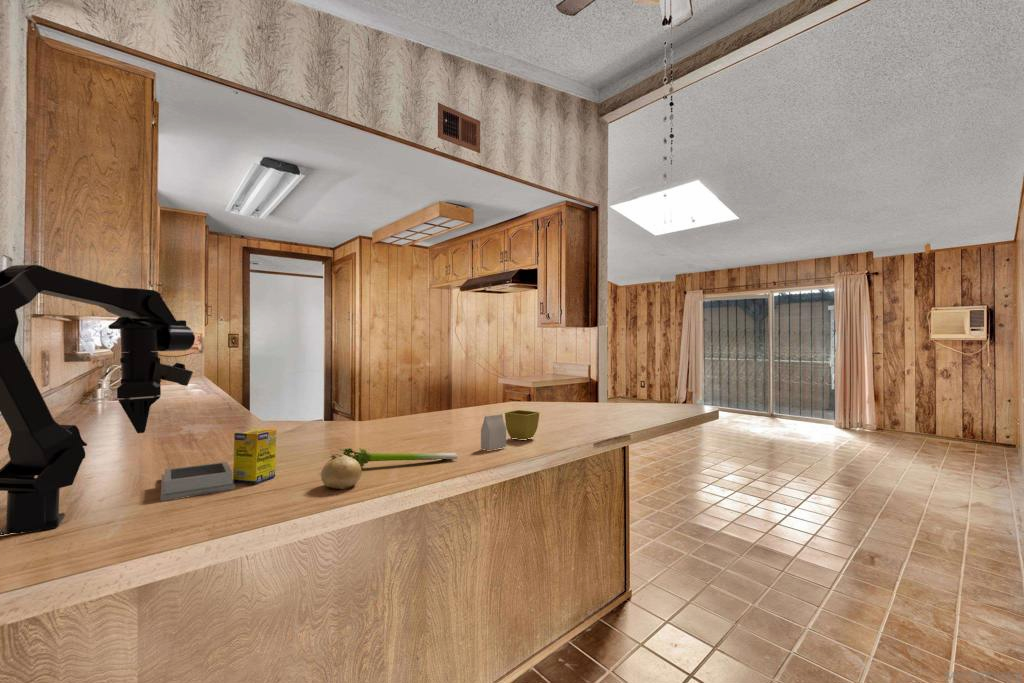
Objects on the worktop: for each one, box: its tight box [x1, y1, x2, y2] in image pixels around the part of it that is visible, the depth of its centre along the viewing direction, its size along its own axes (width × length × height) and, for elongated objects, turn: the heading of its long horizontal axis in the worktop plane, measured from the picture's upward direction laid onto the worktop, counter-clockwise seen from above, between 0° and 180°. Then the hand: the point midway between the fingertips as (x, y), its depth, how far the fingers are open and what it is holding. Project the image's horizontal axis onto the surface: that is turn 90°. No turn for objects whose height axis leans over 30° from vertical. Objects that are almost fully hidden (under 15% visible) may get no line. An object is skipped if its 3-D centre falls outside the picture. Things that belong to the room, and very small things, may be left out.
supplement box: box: [232, 428, 277, 485], centre depth 97 cm, size 6×6×11 cm
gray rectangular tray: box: [160, 461, 236, 502], centre depth 93 cm, size 18×12×4 cm, turn 38°
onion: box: [320, 452, 363, 490], centre depth 93 cm, size 8×8×7 cm
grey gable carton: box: [480, 413, 507, 451], centre depth 130 cm, size 4×7×10 cm, turn 135°
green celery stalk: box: [336, 447, 458, 470], centre depth 111 cm, size 6×7×30 cm
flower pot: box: [504, 409, 541, 439], centre depth 144 cm, size 9×9×9 cm
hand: (141, 429), depth 88 cm, fingers open, 9 cm apart
